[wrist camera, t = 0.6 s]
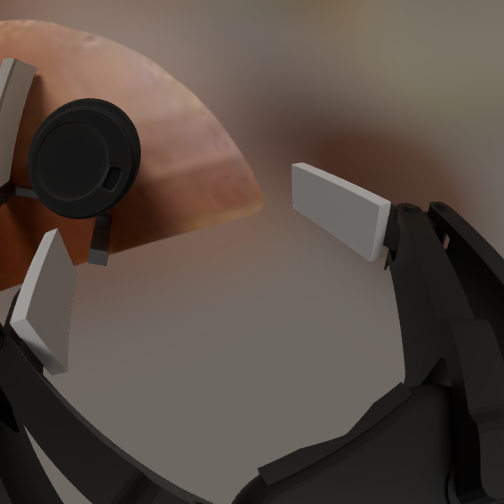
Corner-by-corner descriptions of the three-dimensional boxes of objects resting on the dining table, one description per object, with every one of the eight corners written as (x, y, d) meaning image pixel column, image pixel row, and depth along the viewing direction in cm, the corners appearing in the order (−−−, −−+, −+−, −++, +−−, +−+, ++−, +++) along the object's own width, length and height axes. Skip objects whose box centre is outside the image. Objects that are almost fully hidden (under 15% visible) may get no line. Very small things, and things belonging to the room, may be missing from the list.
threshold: (15, 194, 24) (15, 194, 24) (16, 186, 24) (15, 187, 24) (109, 211, 32) (109, 212, 31) (110, 204, 31) (110, 205, 31)
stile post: (95, 223, 32) (88, 262, 24) (97, 212, 31) (89, 248, 23) (109, 226, 33) (106, 265, 25) (112, 215, 32) (108, 252, 24)
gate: (9, 180, 22) (-16, 200, 16) (1, 178, 22) (-26, 199, 16) (37, 67, 18) (14, 58, 12) (28, 67, 17) (4, 58, 11)
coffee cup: (136, 176, 31) (142, 221, 19) (65, 182, 27) (29, 233, 16) (139, 101, 27) (145, 93, 15) (65, 107, 23) (19, 108, 11)
